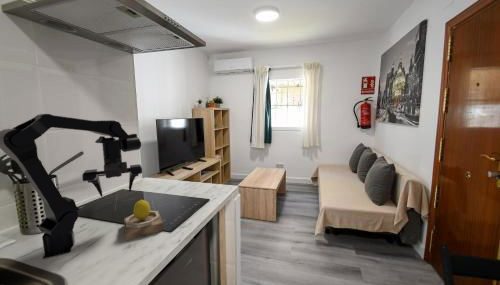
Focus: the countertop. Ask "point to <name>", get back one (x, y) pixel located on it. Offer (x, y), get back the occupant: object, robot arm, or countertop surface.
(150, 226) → the wooden bowl
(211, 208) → the countertop surface
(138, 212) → the lemon
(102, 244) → the countertop surface
